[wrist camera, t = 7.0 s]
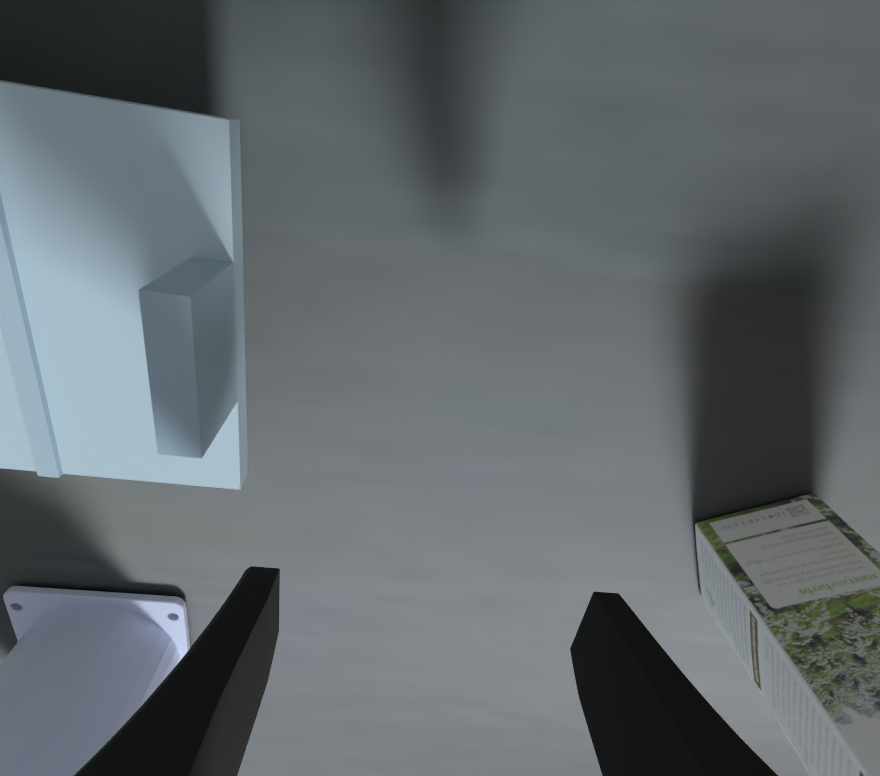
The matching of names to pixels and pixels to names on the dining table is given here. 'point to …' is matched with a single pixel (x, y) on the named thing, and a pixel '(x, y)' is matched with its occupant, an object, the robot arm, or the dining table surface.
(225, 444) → the lid
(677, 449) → the dining table surface
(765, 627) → the syrup box
